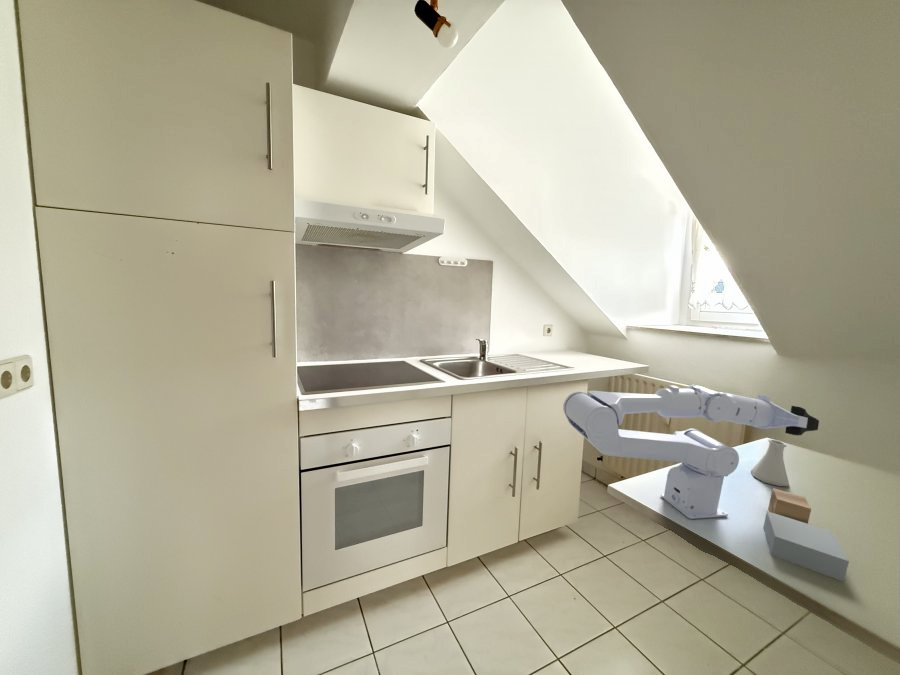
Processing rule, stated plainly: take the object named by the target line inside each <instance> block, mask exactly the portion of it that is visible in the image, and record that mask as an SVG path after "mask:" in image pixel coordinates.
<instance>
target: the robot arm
mask: <svg viewBox="0 0 900 675" xmlns="http://www.w3.org/2000/svg"><path fill="white" fill-rule="evenodd" d="M586 392H587V393H586ZM586 392H584V391H574V392H572V393H570V394H568V396H567V397H566V398H565V399H564V402H563V406H562V408H563V409H562V410H563V413H564V415H565V417H566V419H567V422H568V423H569V425H571V427H573V428H574V429H575V430H576V431H577V432H578V433H579V434H580V435H582V437H584V439H585V440H587V442H589V443H590V444H591V445H592V446H593V447H594V448H595V449H597V451H599V453H601V454H602V455H603V456H610V457H619V458H620V457H621V458H632V459H643V460H655V461H665V462H676V463H680V464H679V465H676V466H674V467H672V468H670V469H669V470H668V473H667V477H666V482H665V486H664V487H665V488H664V493H661V494H660V497H661V498H662V499H664V500H665V501H666V502H667V503H669V504H670V505H671V506H673V507H674V508H675V509H677V511H679V512H680V513H682V515H683V516H685V517H686V518H688V519H689V520H693V519H694V520H695V519H706V518H708V519H709V518H720V517H721V518H722V517H728V516H729V513H728V512H726V511H725V510H724V509H722V508H720V507H719V503H720V499H721V494H722V488H723V484H724V478H725V477H728V476H729V475H731V474H733V473H734V472H735V471H736V470H737V469H738V466H739V463H740V456H739V453H738V451H737V450H736V449H735V448H734V447H731V446H729V445H726V444H724V443H723V442H720V441H718V440H716V439H715V438H712V436H711V437H710V436H708V435H707V434H705V433H704V432H702V431H701V430H699V429H697V428H687V429H685V430H682V431H679V430H675V431H674V432H673V434H669V433H660V432H649V431H639V430H629V429H620V428H619V426H621V425H622V424H623V420H624V419H625V415H629V414H630V415H631V414H642V413H657V414H658V415H659V416H661V417H662V418H668V419H669V418H672V419H674V418H699V417H701V418H703V419H706V420H708V421H711V422H712V423H719V422H722V421H724V422H729V423H733V424H739V425H745V426H750V427H754V428H757V429H760V430H762V429H763V430H768V429H769V430H770V429H777V428H779V429H780V428H785V432H784V433H785V434H788V435H793V436H802V435H803V434H804V433H805V432H812V431H813V432H814V431H818V430H819V424H820V420H819V419H818V418H815V417H814V416H812V415H810V414H808V412H807V410H806V408H803V407H801V406H796V405H791V408H790V411H788V410H787V409H785V408H783V407H781V406H779V405H777V404H775V403H773V402H772V401H771V397H770V396H769V395H768V394H767V395H766V394H758V395H757V397H756V398H753V397H750V396H749V397H748V396H744V395H739V394H734V393H728V392H722V391H717V390H716V391H715V390H713V389H709V388H706V387H704V386H701V385H698V384H697V385H696V384H691V385H688V386H687V387H686V388H680V386H677V385H668V388H659V389H658V390H657V391H656V392H655V393H654V394H652V393H649V394H648V393H635V392H634V393H633V392H616V391H615V392H613V391H601V390H590V391H589V390H588V391H586ZM588 393H589V394H590V395H589V394H588Z"/></svg>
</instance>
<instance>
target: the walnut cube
mask: <svg viewBox="0 0 900 675" xmlns="http://www.w3.org/2000/svg"><path fill="white" fill-rule="evenodd" d="M767 510H768V512H772V513H775V514H778V515H781V516H784V517H788V518H791V519H794V520H797V521H800V522H803V523H807V524H809V521H810V517H811V512H812V508H811V506H810V504H809V502H808V500H807V498H806V497H805V496H802V495H799V494H796V493H792V492H788V491H784V490H781V489H777V488H774V487H773V488H772V490H771V494H770V499H769V503H768V509H767Z"/></svg>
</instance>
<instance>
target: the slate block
mask: <svg viewBox="0 0 900 675" xmlns="http://www.w3.org/2000/svg"><path fill="white" fill-rule="evenodd" d="M762 528H763V533H764V532H765V533H764V535H765V539H766V542H767V547H768V550H769V553H770V555H771V556H772V557H775V558H778V559H781V560H784V561H787V562H790V563H792V564H795V565H797V566H800V567H802V568H806V569H809V570H811V571H814V572H817V573H818V574H819V573H820V574H822V575H824V576H827V577H831V578H833V579H836V580H838V581H842V582H844V581H845V578H846V574H847V570H848V567H849V563H850V562H849V558H847V555H846V554H845V552H844V550H843V548H842V547H841V545H840V543H839V542H838V540H837V538H836V536H835V534H834V532H833V531H832V530H829V529H825V528H821V527H819V526H817V525H812V524H809V523H808V524H807V523H803V522H800V521H797V520H794V519H791V518H788V517H784V516H781V515H778V514H775V513H772V512H769V510H768V511H767V510H766V514H765V518H764V523H763V527H762Z"/></svg>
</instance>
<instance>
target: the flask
mask: <svg viewBox="0 0 900 675" xmlns="http://www.w3.org/2000/svg"><path fill="white" fill-rule="evenodd" d="M768 442H769V444H768V448H767V450H766V452H765V453H764V455H763V456H762V457H761V459H760V460H759V461H758V462H757V463H756V464H755V466H754V467H752V469H751V470H750V473H751V474H752V476H753V477H754V478H756V479H757V480H759V481H761V482H763V483H766V484H770V485H773V486H778V487H790V482H789V479H788V474H787V470H786V466H785V460H784V451H785V448H787V444H786V443H785V442H783V441H782V440H778V439H768Z"/></svg>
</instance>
